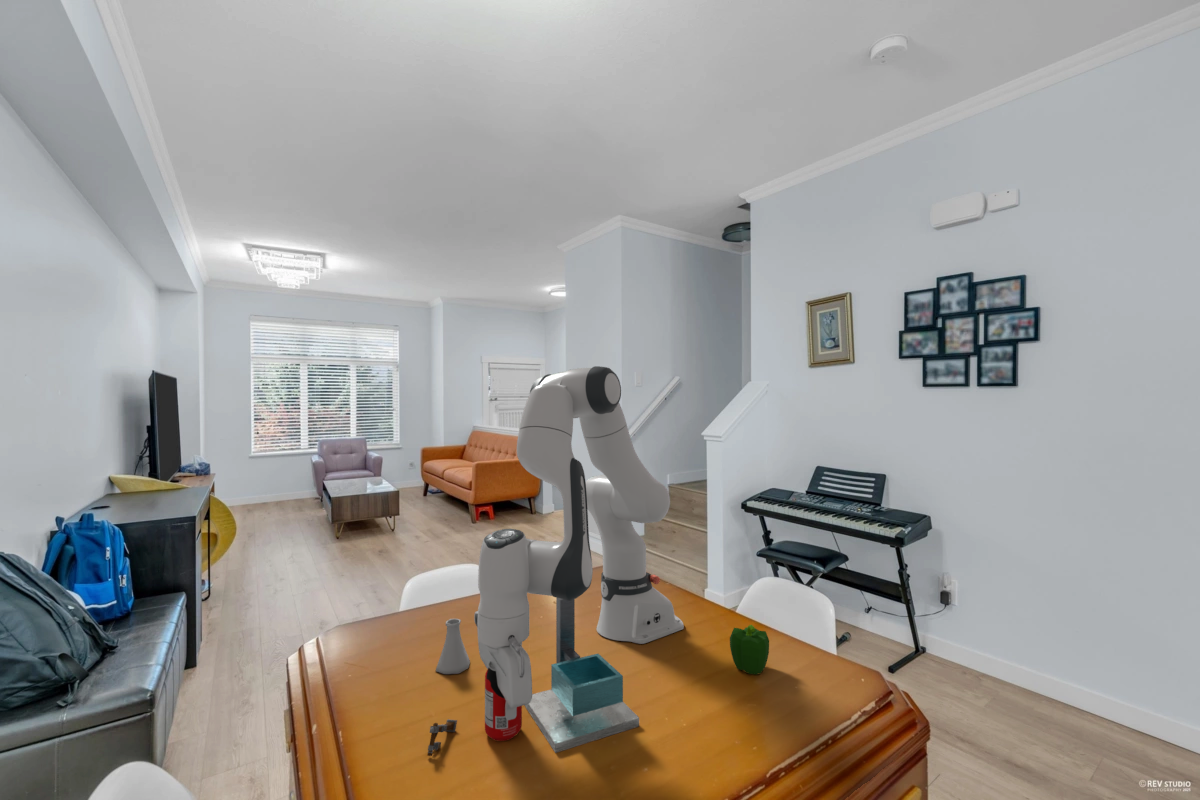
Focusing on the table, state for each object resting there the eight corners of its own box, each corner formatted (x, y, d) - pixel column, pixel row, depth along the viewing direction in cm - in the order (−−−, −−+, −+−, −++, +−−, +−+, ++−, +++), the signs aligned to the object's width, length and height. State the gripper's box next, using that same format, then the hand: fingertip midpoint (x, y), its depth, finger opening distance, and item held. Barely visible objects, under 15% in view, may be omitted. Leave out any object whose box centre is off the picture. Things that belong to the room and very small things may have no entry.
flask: (460, 677, 111) (460, 629, 112) (429, 673, 113) (429, 626, 113) (475, 661, 118) (475, 616, 119) (445, 658, 120) (446, 613, 120)
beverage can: (520, 743, 89) (520, 671, 89) (482, 745, 89) (482, 672, 89) (522, 721, 96) (523, 654, 96) (487, 723, 95) (487, 655, 95)
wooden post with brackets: (421, 756, 85) (427, 723, 87) (442, 747, 92) (447, 717, 94) (431, 757, 84) (437, 724, 86) (452, 749, 92) (457, 718, 93)
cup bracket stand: (598, 684, 108) (598, 588, 109) (639, 726, 94) (638, 615, 94) (523, 704, 101) (523, 601, 101) (555, 752, 87) (555, 632, 87)
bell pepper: (731, 657, 120) (731, 613, 120) (769, 663, 117) (769, 617, 117) (727, 675, 112) (727, 627, 112) (768, 681, 109) (768, 632, 110)
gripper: (542, 646, 85) (542, 733, 84) (504, 604, 103) (504, 676, 102) (503, 654, 82) (503, 745, 81) (472, 609, 100) (471, 684, 100)
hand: (503, 706), depth 92 cm, fingers closed on beverage can, 6 cm apart
